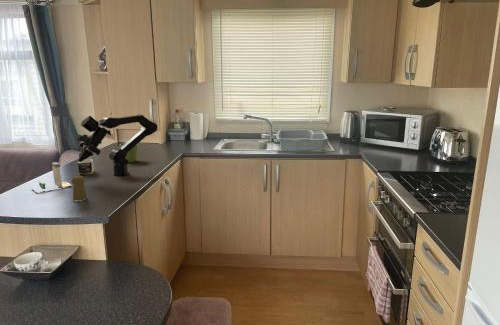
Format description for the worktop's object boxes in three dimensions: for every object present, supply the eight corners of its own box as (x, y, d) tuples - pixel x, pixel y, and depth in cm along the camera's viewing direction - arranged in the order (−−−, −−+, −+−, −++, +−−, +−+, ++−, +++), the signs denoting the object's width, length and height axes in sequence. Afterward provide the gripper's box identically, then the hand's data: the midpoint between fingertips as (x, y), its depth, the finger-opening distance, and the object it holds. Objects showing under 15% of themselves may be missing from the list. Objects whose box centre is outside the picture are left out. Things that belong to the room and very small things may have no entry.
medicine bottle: (79, 174, 207) (76, 154, 204) (81, 171, 213) (78, 151, 210) (92, 174, 208) (90, 153, 206) (94, 170, 215) (92, 151, 212)
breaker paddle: (59, 183, 187) (56, 162, 184) (62, 185, 183) (59, 163, 181) (54, 184, 185) (51, 162, 183) (57, 186, 182) (54, 164, 179)
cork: (89, 197, 168) (87, 174, 165) (84, 202, 162) (81, 178, 159) (76, 197, 167) (73, 174, 165) (70, 202, 162) (67, 178, 159)
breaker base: (65, 182, 191) (65, 175, 190) (72, 186, 184) (71, 179, 183) (31, 189, 181) (30, 181, 180) (37, 193, 174) (35, 186, 173)
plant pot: (116, 162, 236) (115, 145, 233) (130, 158, 246) (129, 142, 244) (130, 164, 231) (128, 146, 228) (143, 160, 241) (142, 143, 238)
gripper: (78, 126, 196) (60, 150, 191) (90, 129, 182) (70, 155, 178) (95, 139, 203) (78, 162, 198) (108, 142, 189) (90, 167, 184)
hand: (79, 161), depth 189 cm, fingers closed
